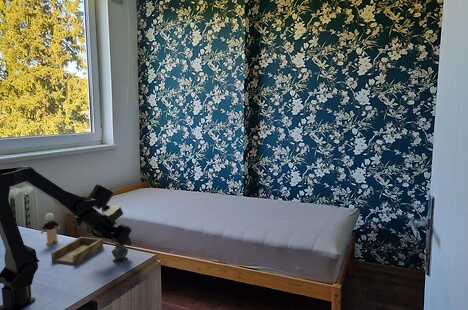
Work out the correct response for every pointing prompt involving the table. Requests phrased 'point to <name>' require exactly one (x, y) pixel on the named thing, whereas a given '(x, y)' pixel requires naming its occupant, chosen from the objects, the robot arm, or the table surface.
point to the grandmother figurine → (50, 229)
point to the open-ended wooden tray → (77, 250)
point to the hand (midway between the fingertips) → (122, 241)
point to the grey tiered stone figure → (120, 253)
